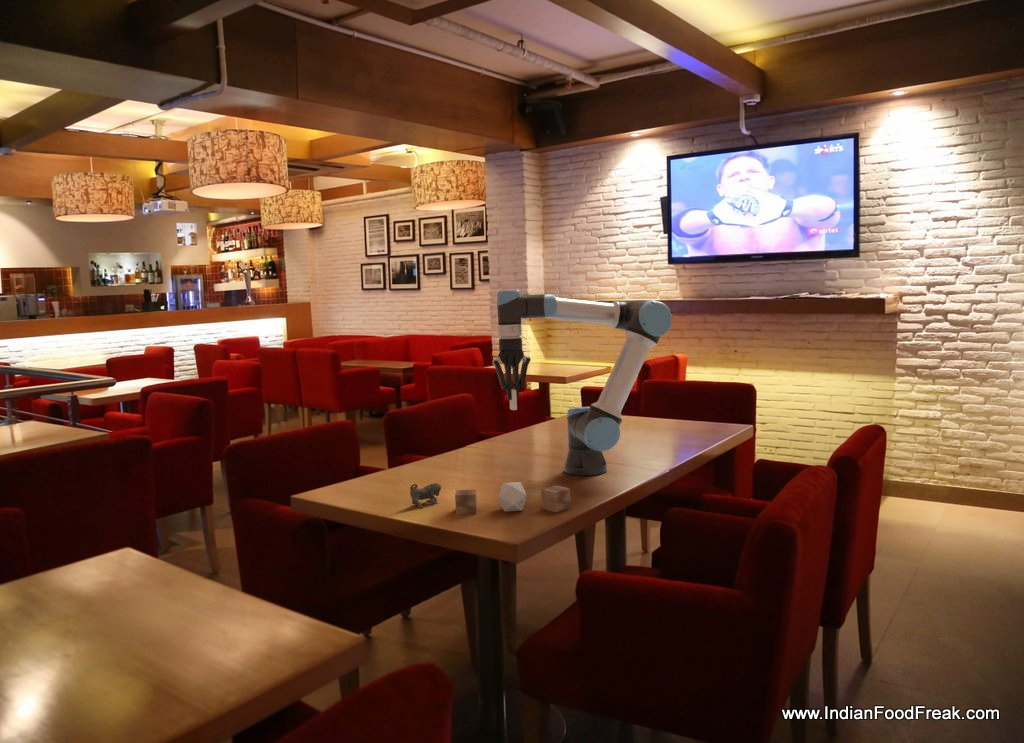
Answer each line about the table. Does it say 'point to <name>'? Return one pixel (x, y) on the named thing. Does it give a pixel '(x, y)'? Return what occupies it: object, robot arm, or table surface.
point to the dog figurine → (425, 493)
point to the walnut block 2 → (556, 498)
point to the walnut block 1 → (466, 502)
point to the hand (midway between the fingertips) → (513, 409)
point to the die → (512, 496)
